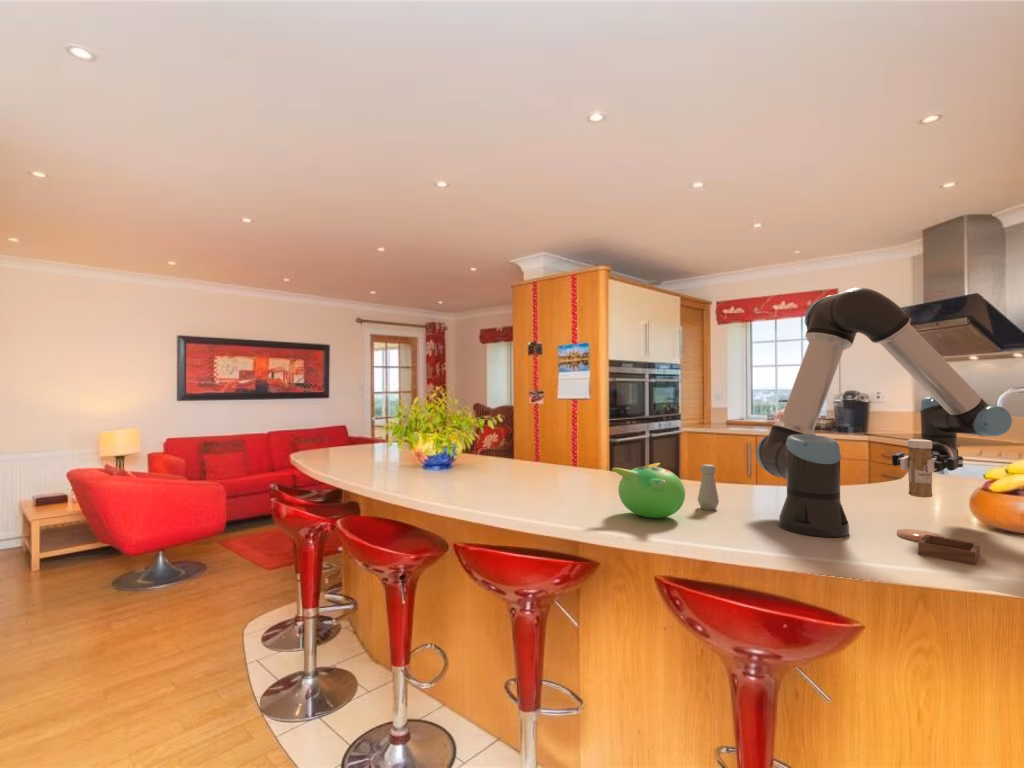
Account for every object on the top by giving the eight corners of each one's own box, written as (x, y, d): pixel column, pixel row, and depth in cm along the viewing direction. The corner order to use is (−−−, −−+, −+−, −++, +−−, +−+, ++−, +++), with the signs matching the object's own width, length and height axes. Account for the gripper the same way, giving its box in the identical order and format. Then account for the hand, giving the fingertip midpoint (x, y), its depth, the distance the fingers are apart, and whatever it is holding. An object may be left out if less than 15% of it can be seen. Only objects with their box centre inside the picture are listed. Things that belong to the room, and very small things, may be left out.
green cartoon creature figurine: (694, 517, 139) (694, 463, 139) (667, 529, 126) (667, 470, 126) (635, 506, 151) (635, 457, 151) (605, 517, 138) (605, 463, 138)
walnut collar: (975, 565, 101) (975, 552, 101) (918, 554, 107) (918, 542, 107) (979, 555, 107) (979, 543, 107) (925, 545, 113) (925, 534, 113)
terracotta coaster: (913, 542, 116) (913, 539, 116) (888, 531, 125) (888, 528, 125) (955, 543, 115) (955, 540, 115) (926, 532, 124) (926, 529, 124)
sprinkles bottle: (925, 498, 117) (925, 441, 117) (903, 494, 121) (903, 439, 121) (937, 497, 119) (936, 440, 119) (915, 493, 123) (914, 438, 123)
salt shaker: (720, 511, 145) (720, 466, 145) (699, 510, 146) (699, 465, 146) (716, 506, 151) (716, 463, 151) (696, 506, 152) (696, 463, 152)
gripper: (977, 475, 126) (966, 487, 110) (892, 467, 138) (870, 477, 123) (977, 445, 126) (965, 452, 110) (891, 440, 138) (870, 446, 123)
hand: (915, 465), depth 116 cm, fingers closed on sprinkles bottle, 4 cm apart
